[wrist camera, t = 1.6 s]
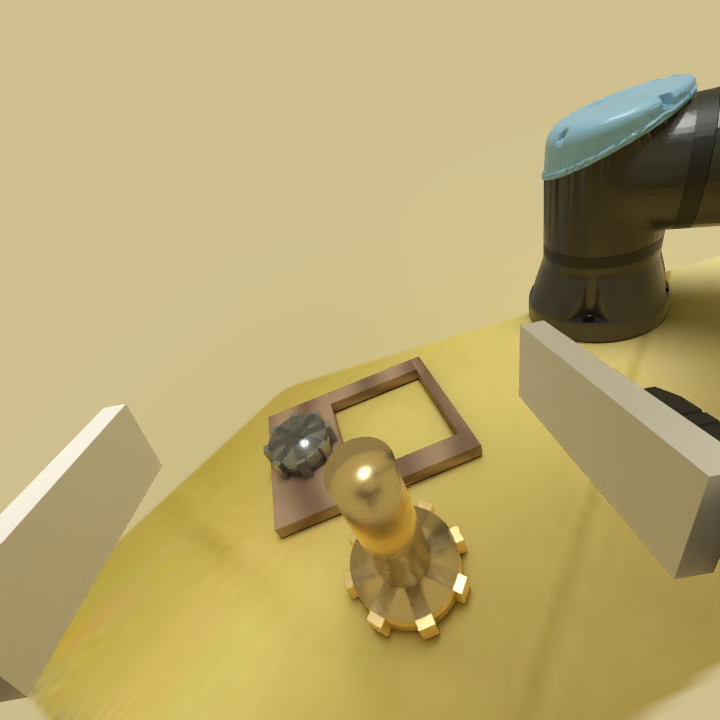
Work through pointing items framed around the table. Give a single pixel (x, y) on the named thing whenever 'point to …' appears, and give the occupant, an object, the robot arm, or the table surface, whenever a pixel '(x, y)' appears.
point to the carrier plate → (310, 497)
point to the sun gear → (300, 445)
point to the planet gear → (394, 542)
